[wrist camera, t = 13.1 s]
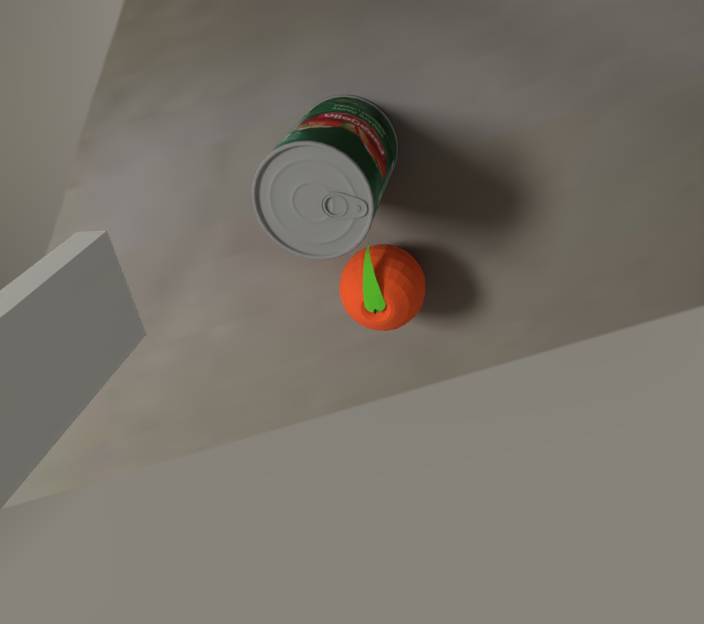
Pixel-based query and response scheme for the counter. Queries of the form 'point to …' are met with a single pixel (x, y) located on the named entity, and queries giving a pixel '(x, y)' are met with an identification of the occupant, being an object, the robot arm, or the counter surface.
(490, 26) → the counter surface
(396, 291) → the clementine
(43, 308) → the robot arm
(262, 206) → the canned tomato
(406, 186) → the counter surface
